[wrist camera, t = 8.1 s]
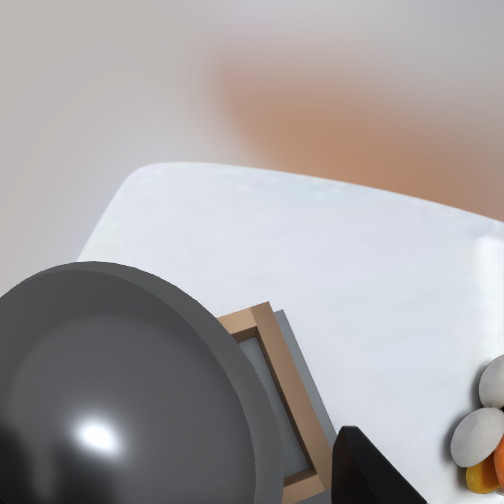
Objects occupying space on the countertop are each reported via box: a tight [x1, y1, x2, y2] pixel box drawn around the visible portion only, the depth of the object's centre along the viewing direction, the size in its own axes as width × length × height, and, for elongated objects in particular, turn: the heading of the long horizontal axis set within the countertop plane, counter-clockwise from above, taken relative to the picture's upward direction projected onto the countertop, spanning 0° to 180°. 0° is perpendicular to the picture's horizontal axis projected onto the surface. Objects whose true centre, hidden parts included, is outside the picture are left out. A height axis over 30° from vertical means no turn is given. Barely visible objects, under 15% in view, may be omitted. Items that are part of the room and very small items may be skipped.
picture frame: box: [217, 301, 337, 504], centre depth 12 cm, size 11×15×2 cm
